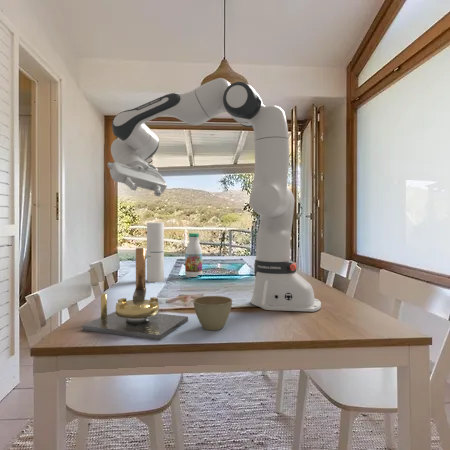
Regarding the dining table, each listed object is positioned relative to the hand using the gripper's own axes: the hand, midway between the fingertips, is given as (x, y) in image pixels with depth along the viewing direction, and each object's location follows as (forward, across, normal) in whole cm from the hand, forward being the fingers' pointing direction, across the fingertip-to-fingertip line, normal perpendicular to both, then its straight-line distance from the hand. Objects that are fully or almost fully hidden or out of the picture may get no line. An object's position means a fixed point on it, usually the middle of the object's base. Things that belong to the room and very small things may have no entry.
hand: (146, 191), depth 121 cm
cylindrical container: (-2, +28, +43) cm, 51 cm away
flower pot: (+50, +3, +7) cm, 51 cm away
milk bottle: (-1, +46, +38) cm, 60 cm away
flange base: (+40, -10, +17) cm, 45 cm away
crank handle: (+35, -8, +17) cm, 39 cm away
